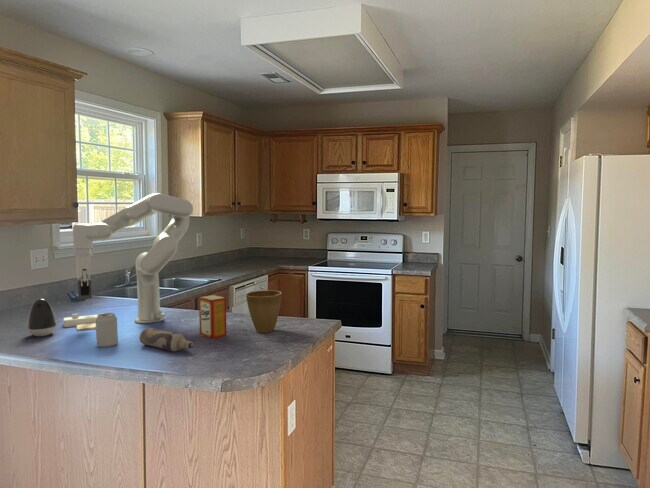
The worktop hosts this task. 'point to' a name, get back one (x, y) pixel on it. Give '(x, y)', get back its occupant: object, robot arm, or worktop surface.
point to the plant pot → (264, 309)
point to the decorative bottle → (165, 340)
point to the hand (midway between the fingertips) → (85, 293)
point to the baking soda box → (212, 316)
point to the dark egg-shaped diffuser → (41, 318)
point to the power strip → (79, 320)
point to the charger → (80, 290)
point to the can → (106, 330)
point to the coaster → (86, 326)
